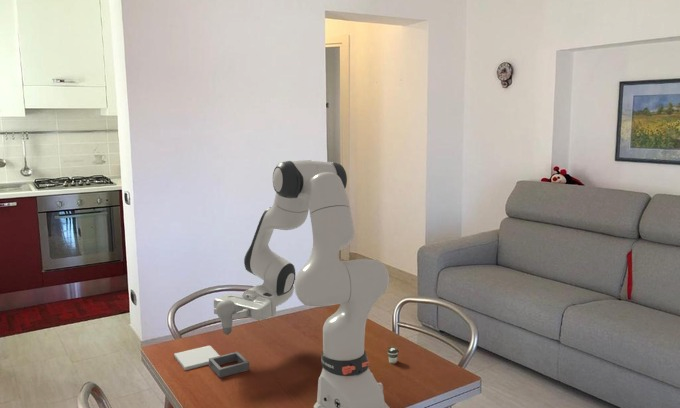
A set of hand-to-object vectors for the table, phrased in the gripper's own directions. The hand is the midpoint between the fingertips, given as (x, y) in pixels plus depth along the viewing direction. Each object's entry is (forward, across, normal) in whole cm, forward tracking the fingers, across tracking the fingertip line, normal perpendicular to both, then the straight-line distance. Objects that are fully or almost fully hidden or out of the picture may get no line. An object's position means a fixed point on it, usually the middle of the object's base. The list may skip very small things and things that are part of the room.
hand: (224, 314), depth 171 cm
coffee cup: (-31, +41, +19) cm, 55 cm away
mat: (0, -14, +18) cm, 22 cm away
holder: (-1, 0, +18) cm, 18 cm away
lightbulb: (-1, 0, +7) cm, 7 cm away
